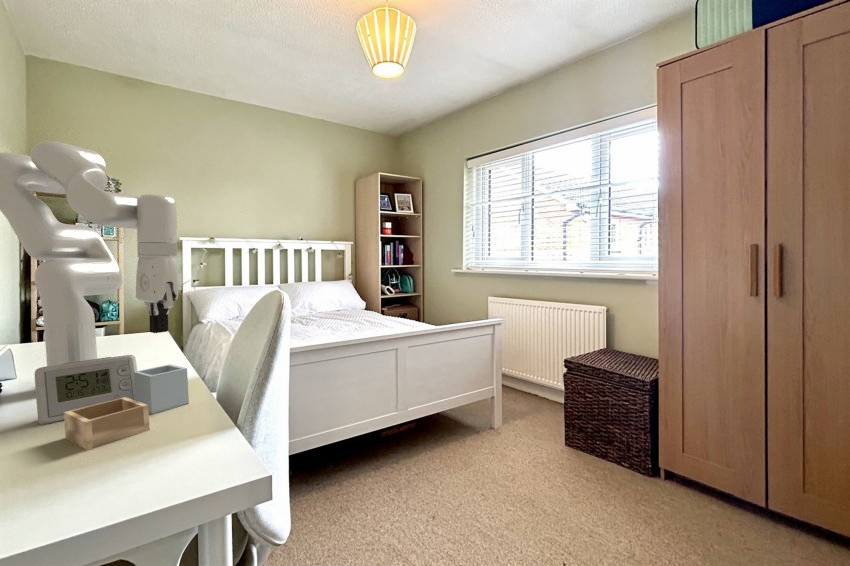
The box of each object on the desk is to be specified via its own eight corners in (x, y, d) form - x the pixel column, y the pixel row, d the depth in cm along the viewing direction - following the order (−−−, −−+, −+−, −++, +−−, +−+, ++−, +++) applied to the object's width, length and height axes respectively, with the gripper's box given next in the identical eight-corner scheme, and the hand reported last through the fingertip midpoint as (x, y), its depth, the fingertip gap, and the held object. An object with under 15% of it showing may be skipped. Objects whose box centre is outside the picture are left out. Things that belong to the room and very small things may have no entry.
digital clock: (33, 430, 76) (28, 372, 76) (44, 415, 84) (40, 362, 83) (140, 411, 85) (137, 359, 85) (141, 399, 93) (139, 351, 92)
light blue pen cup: (135, 411, 85) (133, 371, 85) (171, 400, 91) (169, 364, 91) (152, 417, 81) (149, 376, 81) (189, 406, 87) (186, 368, 87)
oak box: (65, 441, 71) (63, 412, 71) (126, 423, 79) (124, 396, 78) (87, 453, 66) (85, 422, 66) (149, 433, 74) (148, 405, 73)
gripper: (123, 250, 95) (125, 330, 97) (156, 251, 87) (157, 338, 89) (159, 251, 102) (160, 326, 103) (192, 252, 94) (193, 333, 95)
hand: (159, 331), depth 96 cm, fingers closed
